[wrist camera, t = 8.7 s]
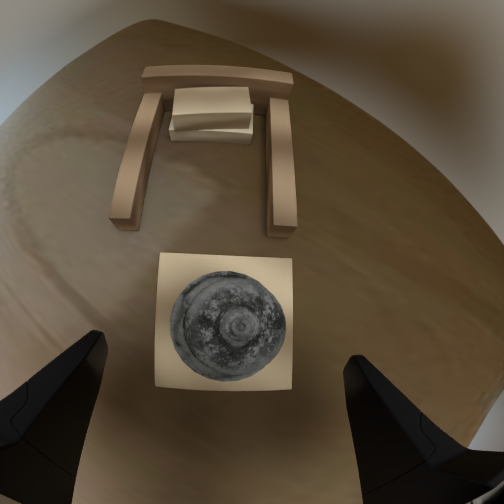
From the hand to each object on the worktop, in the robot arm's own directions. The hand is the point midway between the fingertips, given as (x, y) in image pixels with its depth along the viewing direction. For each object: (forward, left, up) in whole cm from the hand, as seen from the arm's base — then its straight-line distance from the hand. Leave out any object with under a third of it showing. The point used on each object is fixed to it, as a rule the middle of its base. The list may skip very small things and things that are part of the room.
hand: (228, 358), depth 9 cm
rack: (+7, -13, -9) cm, 17 cm away
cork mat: (0, -1, -9) cm, 9 cm away
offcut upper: (+8, -16, -8) cm, 19 cm away
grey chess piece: (0, -1, -9) cm, 9 cm away
